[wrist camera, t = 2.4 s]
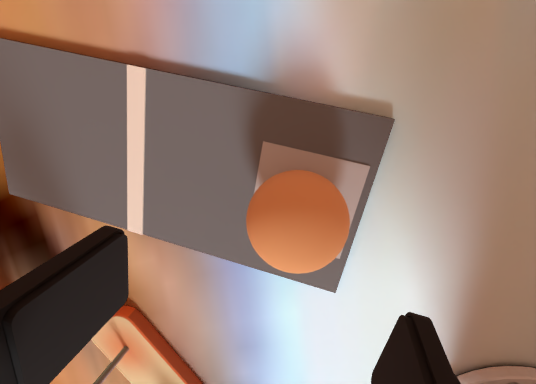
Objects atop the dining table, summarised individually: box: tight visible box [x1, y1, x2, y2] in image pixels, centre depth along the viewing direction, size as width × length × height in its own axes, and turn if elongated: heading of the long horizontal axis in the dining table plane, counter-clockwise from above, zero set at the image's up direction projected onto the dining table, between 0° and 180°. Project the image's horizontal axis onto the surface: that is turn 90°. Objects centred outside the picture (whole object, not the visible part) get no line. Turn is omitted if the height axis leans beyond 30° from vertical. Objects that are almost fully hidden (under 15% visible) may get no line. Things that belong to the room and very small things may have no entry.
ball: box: [246, 170, 350, 274], centre depth 17 cm, size 6×6×6 cm
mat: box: [0, 38, 395, 293], centre depth 21 cm, size 30×13×1 cm, turn 80°
